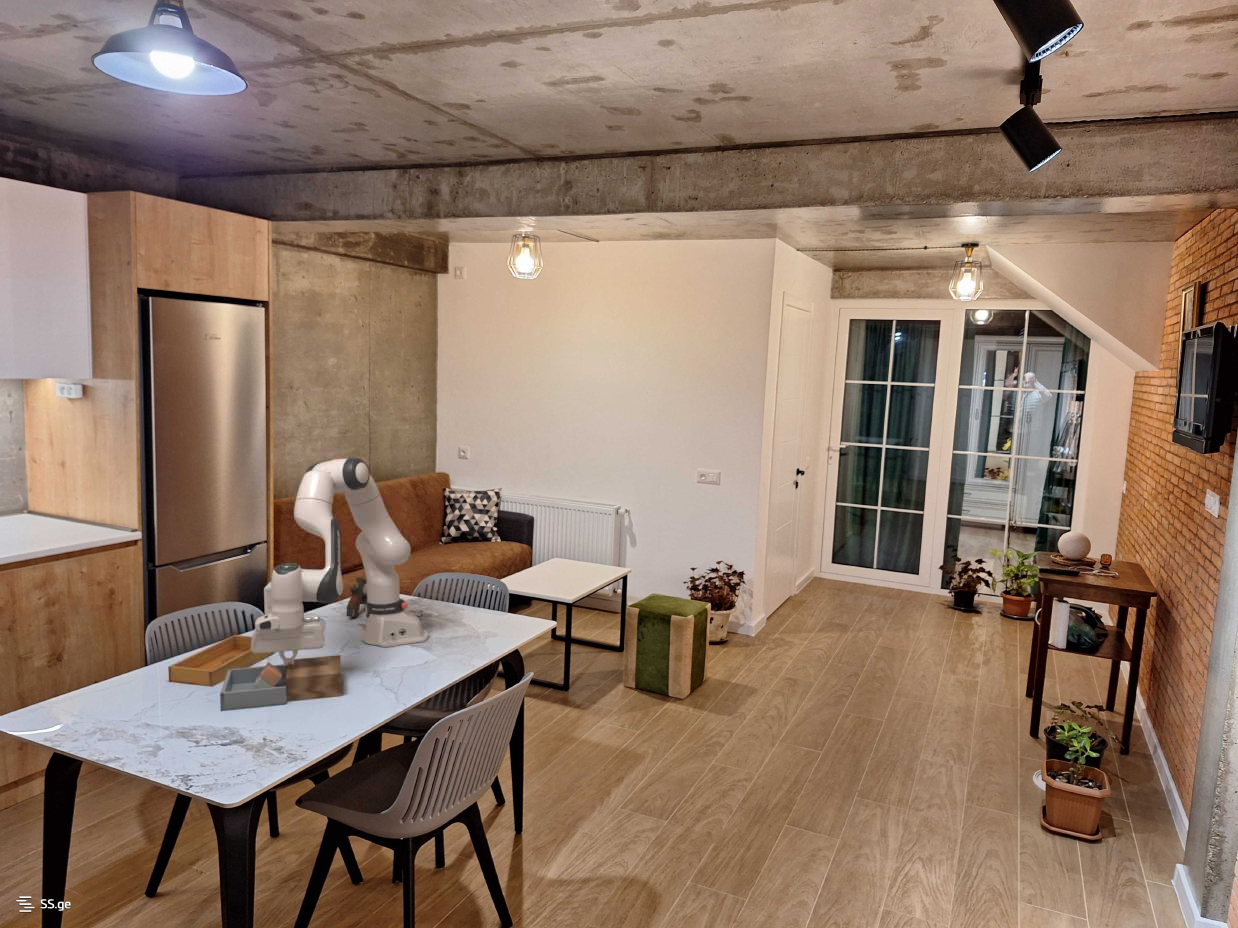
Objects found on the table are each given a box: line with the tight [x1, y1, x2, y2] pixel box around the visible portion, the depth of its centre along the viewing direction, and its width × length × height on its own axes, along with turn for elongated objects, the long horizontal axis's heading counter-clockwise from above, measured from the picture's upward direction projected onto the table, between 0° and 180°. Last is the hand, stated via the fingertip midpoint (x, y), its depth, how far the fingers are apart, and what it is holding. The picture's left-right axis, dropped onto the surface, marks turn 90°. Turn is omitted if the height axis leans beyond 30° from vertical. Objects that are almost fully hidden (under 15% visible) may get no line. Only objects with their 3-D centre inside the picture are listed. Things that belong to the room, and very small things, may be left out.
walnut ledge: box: [286, 654, 342, 703], centre depth 249 cm, size 15×16×7 cm
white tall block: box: [263, 581, 273, 615], centre depth 304 cm, size 10×9×17 cm
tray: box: [167, 634, 275, 688], centre depth 265 cm, size 31×15×6 cm, turn 168°
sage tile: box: [255, 674, 277, 689], centre depth 245 cm, size 5×5×3 cm
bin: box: [219, 663, 288, 712], centre depth 244 cm, size 17×20×5 cm
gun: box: [345, 577, 367, 618], centre depth 332 cm, size 5×27×15 cm, turn 175°
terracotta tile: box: [260, 662, 282, 686], centre depth 245 cm, size 5×5×3 cm
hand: (288, 664), depth 246 cm, fingers closed
